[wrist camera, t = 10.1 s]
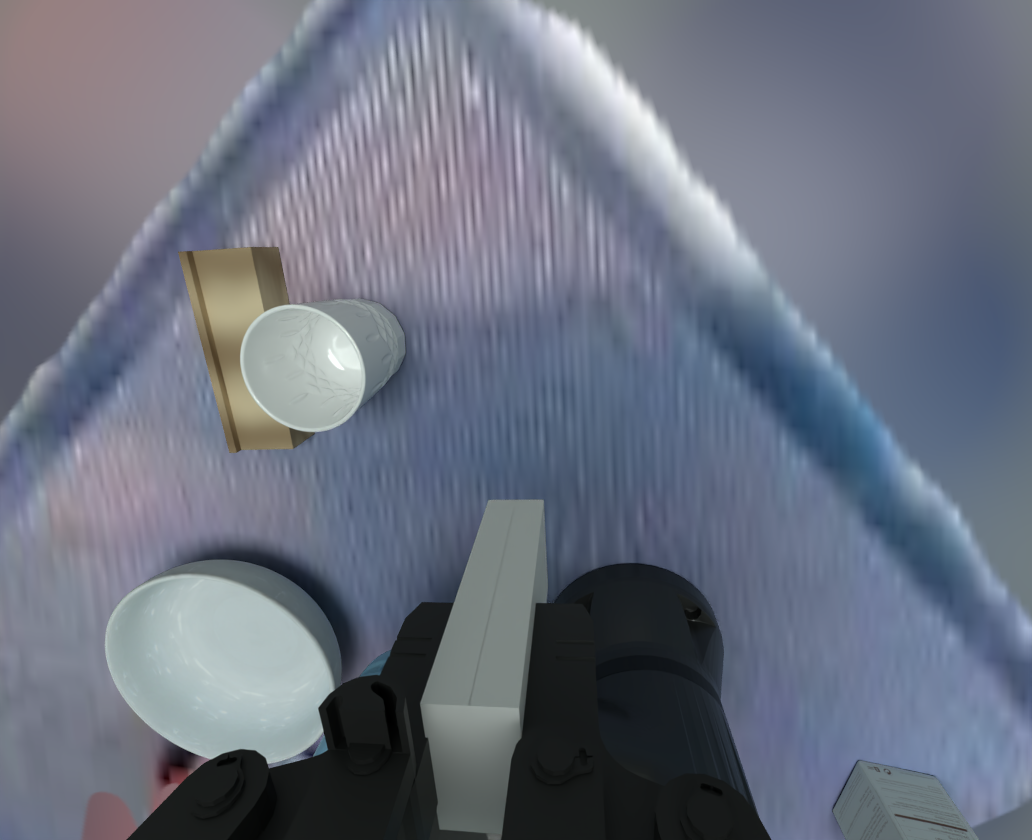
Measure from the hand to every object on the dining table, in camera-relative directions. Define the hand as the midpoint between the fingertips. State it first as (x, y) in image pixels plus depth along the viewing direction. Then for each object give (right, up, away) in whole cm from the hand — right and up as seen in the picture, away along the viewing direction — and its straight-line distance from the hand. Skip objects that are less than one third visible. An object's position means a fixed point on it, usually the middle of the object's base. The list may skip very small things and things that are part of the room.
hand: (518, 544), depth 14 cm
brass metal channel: (-20, +9, +27) cm, 35 cm away
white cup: (-12, +10, +26) cm, 30 cm away
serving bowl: (-25, -17, +37) cm, 48 cm away
